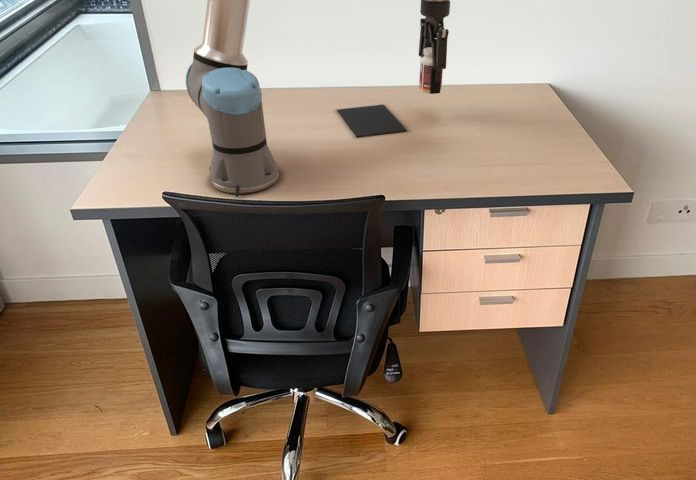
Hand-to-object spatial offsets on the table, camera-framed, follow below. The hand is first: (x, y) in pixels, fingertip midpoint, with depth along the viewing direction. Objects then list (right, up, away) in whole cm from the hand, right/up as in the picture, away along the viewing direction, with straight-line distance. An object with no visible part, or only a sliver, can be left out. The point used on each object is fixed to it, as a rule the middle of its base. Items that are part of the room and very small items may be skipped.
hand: (430, 88), depth 162 cm
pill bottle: (0, 0, 0) cm, 1 cm away
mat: (-17, -8, +2) cm, 19 cm away
